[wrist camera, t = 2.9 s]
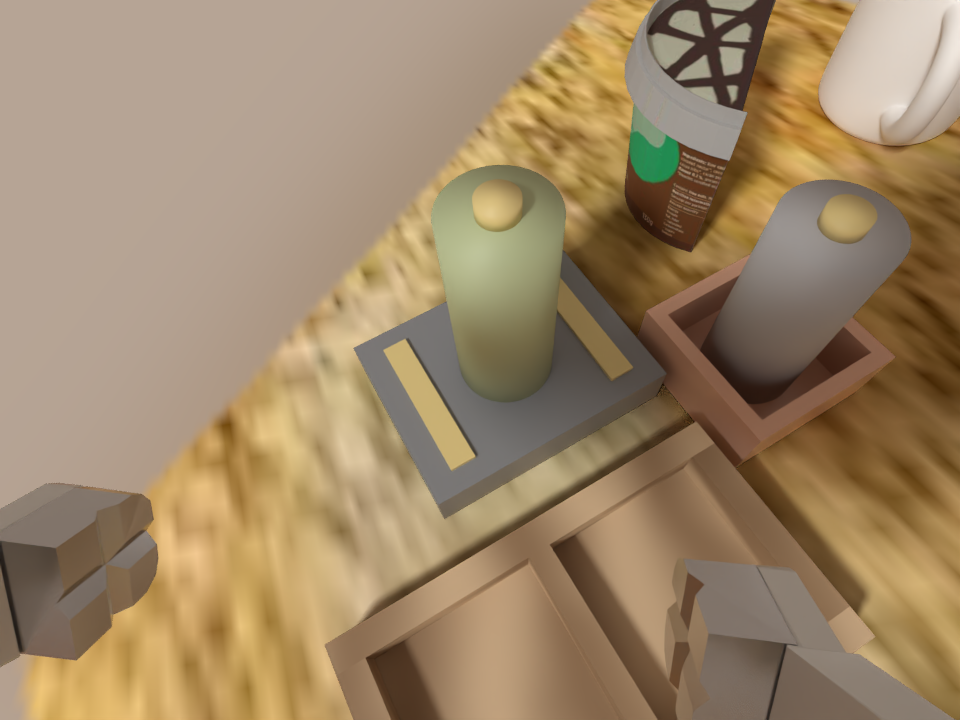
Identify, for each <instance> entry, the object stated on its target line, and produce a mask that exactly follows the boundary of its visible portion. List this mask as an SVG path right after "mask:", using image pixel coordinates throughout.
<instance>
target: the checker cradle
mask: <svg viewBox="0 0 960 720" xmlns="http://www.w3.org/2000/svg"><path fill="white" fill-rule="evenodd" d="M354 350H355V352H356V354H357V356H358V358H359V360H360V362H361V364H362V366H363V368H364V370H365V372H366V374H367V376H368V378H369V379H370V381H371V383H372V385H373V387H374V389H375V391H376V392H377V394H378V396H379V398H380V400H381V402H382V404H383V405H384V407H385V409H386V411H387V413H388V415H389V417H390V418H391V420H392V422H393V424H394V426H395V428H396V430H397V432H398V433H399V435H400V437H401V439H402V441H403V443H404V445H405V446H406V448H407V450H408V452H409V454H410V456H411V458H412V459H413V461H414V463H415V465H416V467H417V469H418V471H419V472H420V474H421V476H422V478H423V480H424V482H425V484H426V485H427V487H428V489H429V491H430V493H431V495H432V497H433V499H434V500H435V502H436V504H437V506H438V508H439V510H440V512H441V513H442V515H443V517H444V519H445V518H447V517H449V516H451V515H452V514H454V513H456V512H457V511H459V510H461V509H463V508H464V507H466V506H468V505H470V504H471V503H473V502H475V501H476V500H478V499H480V498H482V497H483V496H485V495H487V494H488V493H490V492H492V491H494V490H495V489H497V488H499V487H501V486H502V485H504V484H506V483H507V482H509V481H511V480H513V479H514V478H516V477H518V476H519V475H521V474H523V473H525V472H526V471H528V470H530V469H532V468H533V467H535V466H537V465H538V464H540V463H542V462H544V461H545V460H547V459H549V458H550V457H552V456H554V455H556V454H557V453H559V452H561V451H562V450H564V449H566V448H568V447H569V446H571V445H573V444H575V443H576V442H578V441H580V440H581V439H583V438H585V437H587V436H588V435H590V434H592V433H593V432H595V431H597V430H599V429H600V428H602V427H604V426H606V425H607V424H609V423H611V422H612V421H614V420H616V419H618V418H619V417H621V416H623V415H624V414H626V413H628V412H630V411H631V410H633V409H635V408H636V407H638V406H640V405H642V404H643V403H645V402H647V401H649V400H650V399H652V398H654V397H655V396H657V394H658V392H659V389H660V387H661V385H662V383H663V381H664V379H665V377H666V375H667V373H666V372H665V371H664V369H663V368H662V367H661V366H660V365H659V363H658V362H657V361H656V360H655V359H654V358H653V356H652V355H651V354H650V353H649V352H648V350H647V349H646V348H645V347H644V346H643V344H642V343H641V342H640V341H639V340H638V339H637V337H636V336H635V335H634V334H633V333H632V331H631V330H630V329H629V328H628V327H627V325H626V324H625V323H624V322H623V321H622V320H621V318H620V317H619V316H618V315H617V314H616V312H615V311H614V310H613V309H612V308H611V306H610V305H609V304H608V303H607V302H606V300H605V299H604V298H603V297H602V296H601V295H600V293H599V292H598V291H597V290H596V289H595V287H594V286H593V285H592V284H591V283H590V281H589V280H588V279H587V278H586V277H585V276H584V274H583V273H582V272H581V271H580V270H579V268H578V267H577V266H576V265H575V264H574V262H573V261H572V260H571V259H570V258H569V257H568V255H567V254H566V253H565V252H564V251H562V262H561V272H560V283H559V293H558V304H557V314H556V325H555V335H554V346H553V357H552V366H551V371H550V374H549V377H548V379H547V380H546V382H545V383H544V385H543V386H542V387H541V388H540V389H539V390H538V391H537V392H536V393H534V394H533V395H531V396H529V397H527V398H525V399H522V400H519V401H515V402H495V401H491V400H488V399H485V398H483V397H481V396H479V395H478V394H476V393H475V392H474V391H472V390H471V389H470V388H469V387H468V385H467V384H466V382H465V381H464V379H463V377H462V374H461V371H460V366H459V361H458V356H457V351H456V345H455V340H454V335H453V330H452V325H451V320H450V315H449V310H448V305H447V302H445V303H443V304H441V305H439V306H437V307H435V308H433V309H431V310H429V311H427V312H425V313H423V314H421V315H419V316H417V317H415V318H413V319H411V320H409V321H407V322H405V323H403V324H401V325H399V326H397V327H395V328H393V329H391V330H389V331H387V332H385V333H383V334H381V335H379V336H377V337H375V338H373V339H371V340H369V341H367V342H365V343H363V344H361V345H359V346H357V347H355V348H354Z"/></svg>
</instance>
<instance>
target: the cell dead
mask: <svg viewBox="0 0 960 720" xmlns="http://www.w3.org/2000/svg"><path fill="white" fill-rule="evenodd" d="M910 246H911V232H910V228H909V226H908V223H907V221H906V219H905V218H904V216H903V215H902V213H901V212H900V211H899V210H898V209H897V208H896V207H895V205H893V204H892V203H891V202H890V201H889V200H887V199H886V198H885V197H883V196H882V195H880V194H878V193H877V192H875V191H873V190H871V189H868V188H866V187H864V186H861V185H858V184H854V183H851V182H846V181H840V180H816V181H810V182H806V183H803V184H800V185H798V186H796V187H794V188H792V189H791V190H789V191H788V192H787V193H786V194H784V196H783V197H782V198H781V199H780V201H779V203H778V204H777V206H776V208H775V210H774V212H773V214H772V216H771V217H770V219H769V221H768V223H767V225H766V227H765V229H764V230H763V232H762V234H761V236H760V238H759V240H758V242H757V244H756V245H755V247H754V249H753V251H752V253H751V255H750V257H749V259H748V260H747V262H746V264H745V266H744V268H743V270H742V272H741V273H740V275H739V277H738V279H737V281H736V283H735V285H734V287H733V288H732V290H731V292H730V294H729V296H728V298H727V300H726V301H725V303H724V305H723V307H722V309H721V311H720V313H719V315H718V316H717V318H716V320H715V322H714V324H713V326H712V328H711V329H710V331H709V333H708V335H707V337H706V339H705V341H704V343H703V344H702V347H701V349H700V351H701V352H702V354H703V355H704V356H705V357H706V358H707V359H708V360H709V361H710V362H711V364H712V365H713V366H714V367H715V368H716V369H717V370H718V371H719V373H720V374H721V375H722V376H723V377H724V378H725V379H726V380H727V381H728V383H729V384H730V385H731V386H732V387H733V388H734V389H735V390H736V392H737V393H738V394H739V395H740V396H741V397H742V398H743V399H744V400H745V402H746V403H747V404H761V403H766V402H769V401H772V400H774V399H776V398H778V397H779V396H780V395H782V394H783V393H784V392H785V391H786V390H787V388H788V387H789V386H790V385H791V384H792V383H793V382H794V381H795V380H796V379H797V377H798V376H799V375H800V374H801V373H802V372H803V371H804V370H805V369H806V367H807V366H808V365H809V364H810V363H811V362H812V361H813V360H814V359H815V358H816V356H817V355H818V354H819V353H820V352H821V351H822V350H823V349H824V348H825V346H826V345H827V344H828V343H829V342H830V341H831V340H832V339H833V338H834V337H835V335H836V334H837V333H838V332H839V331H840V330H841V329H842V328H843V327H844V325H845V324H846V323H847V322H848V321H849V320H850V319H851V318H852V317H853V316H854V314H855V313H856V312H857V311H858V310H859V309H860V308H861V307H862V306H863V304H864V303H865V302H866V301H867V300H868V299H869V298H870V297H871V296H872V295H873V293H874V292H875V291H876V290H877V289H878V288H879V287H880V286H881V285H882V283H883V282H884V281H885V280H886V279H887V278H888V277H889V276H890V275H891V274H892V272H893V271H894V270H895V269H896V268H897V267H898V266H899V265H900V264H901V262H902V261H903V260H904V259H905V257H906V256H907V255H908V252H909V250H910Z"/></svg>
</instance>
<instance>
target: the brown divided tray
mask: <svg viewBox="0 0 960 720" xmlns="http://www.w3.org/2000/svg"><path fill="white" fill-rule="evenodd" d="M678 558H685V559H695V560H706V561H717V562H727V563H738V564H749V565H752V564H753V565H765V566H777V567H789V568H791V569H792V570H794V571H795V572H796V573H797V575H798V576H799V578H800V579H801V581H802V583H803V584H804V586H805V587H806V589H807V590H808V592H809V594H810V595H811V597H812V598H813V600H814V602H815V603H816V605H817V606H818V608H819V610H820V611H821V613H822V614H823V616H824V617H825V619H826V621H827V622H828V624H829V625H830V627H831V629H832V630H833V632H834V633H835V635H836V636H837V638H838V640H839V641H840V643H841V644H842V646H843V648H844V649H845V651H846V652H847V653H852V654H853V653H854V652H855V651H857V650H858V649H860V648H861V647H862V646H864V645H865V644H866V643H868V642H869V641H870V640H872V639H873V638H874V637H875V636H874V634H873V633H872V632H871V631H870V630H869V628H868V627H867V626H866V625H865V624H864V622H863V621H862V620H861V619H860V618H859V616H858V615H857V614H856V613H855V612H854V610H853V609H852V608H851V607H850V606H849V604H848V603H847V602H846V601H845V600H844V598H843V597H842V596H841V595H840V594H839V592H838V591H837V590H836V589H835V588H834V586H833V585H832V584H831V583H830V582H829V580H828V579H827V578H826V577H825V576H824V574H823V573H822V572H821V571H820V569H819V568H818V567H817V566H816V565H815V563H814V562H813V561H812V560H811V559H810V557H809V556H808V555H807V554H806V553H805V551H804V550H803V549H802V548H801V547H800V545H799V544H798V543H797V542H796V541H795V539H794V538H793V537H792V536H791V535H790V533H789V532H788V531H787V530H786V529H785V527H784V526H783V525H782V524H781V523H780V521H779V520H778V519H777V518H776V517H775V515H774V514H773V513H772V512H771V511H770V509H769V508H768V507H767V506H766V505H765V503H764V502H763V501H762V500H761V498H760V497H759V496H758V495H757V494H756V492H755V491H754V490H753V489H752V488H751V486H750V485H749V484H748V483H747V482H746V480H745V479H744V478H743V477H742V476H741V474H740V473H739V472H738V471H737V470H736V468H735V467H734V466H733V465H732V464H731V462H730V461H729V460H728V459H727V458H726V456H725V455H724V454H723V453H722V452H721V450H720V449H719V448H718V447H717V446H716V444H715V443H714V442H713V441H712V440H711V438H710V437H709V436H708V435H707V434H706V432H705V431H704V430H703V429H702V427H701V426H700V425H699V424H698V423H697V421H696V422H694V423H693V424H691V425H689V426H688V427H686V428H684V429H683V430H681V431H679V432H678V433H676V434H674V435H673V436H671V437H669V438H668V439H666V440H664V441H663V442H661V443H659V444H658V445H656V446H654V447H653V448H651V449H649V450H648V451H646V452H644V453H643V454H641V455H639V456H638V457H636V458H634V459H633V460H631V461H629V462H628V463H626V464H625V465H623V466H621V467H620V468H618V469H616V470H615V471H613V472H611V473H610V474H608V475H606V476H605V477H603V478H601V479H600V480H598V481H596V482H595V483H593V484H591V485H590V486H588V487H586V488H585V489H583V490H581V491H580V492H578V493H576V494H575V495H573V496H571V497H570V498H568V499H566V500H565V501H563V502H561V503H560V504H558V505H556V506H555V507H553V508H551V509H550V510H548V511H546V512H545V513H543V514H541V515H540V516H538V517H536V518H535V519H533V520H531V521H530V522H528V523H526V524H525V525H523V526H521V527H520V528H518V529H516V530H515V531H513V532H511V533H510V534H508V535H506V536H505V537H503V538H501V539H500V540H498V541H496V542H495V543H493V544H491V545H490V546H488V547H486V548H485V549H483V550H481V551H480V552H478V553H476V554H475V555H473V556H471V557H470V558H468V559H466V560H465V561H463V562H461V563H460V564H458V565H456V566H455V567H453V568H451V569H450V570H448V571H446V572H445V573H443V574H442V575H440V576H438V577H437V578H435V579H433V580H432V581H430V582H428V583H427V584H425V585H423V586H422V587H420V588H418V589H417V590H415V591H413V592H412V593H410V594H408V595H407V596H405V597H403V598H402V599H400V600H398V601H397V602H395V603H393V604H392V605H390V606H388V607H387V608H385V609H383V610H382V611H380V612H378V613H377V614H375V615H373V616H372V617H370V618H368V619H367V620H365V621H363V622H362V623H360V624H358V625H357V626H355V627H353V628H352V629H350V630H348V631H347V632H345V633H343V634H342V635H340V636H338V637H337V638H335V639H333V640H332V641H330V642H328V643H327V644H325V647H326V650H327V653H328V655H329V658H330V660H331V663H332V665H333V668H334V671H335V673H336V676H337V678H338V681H339V683H340V686H341V689H342V691H343V694H344V696H345V699H346V701H347V704H348V707H349V709H350V712H351V714H352V717H353V719H354V720H678V719H677V714H676V710H675V707H676V701H677V695H678V690H677V688H676V687H675V686H674V685H673V684H672V683H671V682H670V681H669V678H668V673H667V668H666V661H665V652H664V639H665V623H666V616H667V609H668V608H669V607H671V606H672V605H673V604H674V603H675V602H676V601H677V600H676V597H675V593H674V589H673V586H672V578H673V573H674V567H675V565H676V562H677V559H678Z"/></svg>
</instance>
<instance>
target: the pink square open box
mask: <svg viewBox="0 0 960 720" xmlns="http://www.w3.org/2000/svg"><path fill="white" fill-rule="evenodd" d="M750 255H751V254H749V255H748V256H746V257H744V258H742V259H740V260H738V261H737V262H735V263H733V264H731V265H729V266H727V267H726V268H724V269H722V270H720V271H718V272H716V273H714V274H713V275H711V276H709V277H707V278H705V279H703V280H702V281H700V282H698V283H696V284H694V285H692V286H691V287H689V288H687V289H685V290H683V291H681V292H680V293H678V294H676V295H674V296H672V297H670V298H669V299H667V300H665V301H663V302H661V303H659V304H658V305H656V306H654V307H652V308H650V309H648V310H646V313H645V316H644V319H643V322H642V325H641V328H640V331H639V333H638V336H637V339H638V340H639V341H640V342H641V343H642V344H643V346H644V347H645V348H646V349H647V350H648V352H649V353H650V354H651V355H652V356H653V358H654V359H655V360H656V361H657V362H658V363H659V365H660V366H661V367H662V368H663V369H664V371H665V372H666V373H667V375H666V377H665V379H664V381H663V384H664V385H665V386H666V388H667V389H668V390H669V391H670V393H671V394H672V395H673V396H674V397H675V399H676V400H677V401H678V402H679V403H680V405H681V406H682V407H683V408H684V409H685V411H686V412H687V413H688V414H689V415H690V417H691V418H692V419H693V420H694V421H695V422H696V421H697V423H698V424H699V425H700V426H701V427H702V429H703V430H704V431H705V432H706V434H707V435H708V436H709V437H710V438H711V440H712V441H713V442H714V443H715V444H716V446H717V447H718V448H719V449H720V450H721V452H722V453H723V454H724V455H725V456H726V458H727V459H728V460H729V461H730V462H731V464H732V465H733V466H734V467H735V468H736V467H738V466H739V465H741V464H742V463H744V462H746V461H747V460H749V459H750V458H752V457H754V456H755V455H757V454H758V453H760V452H761V451H763V450H765V449H766V448H768V447H769V446H771V445H773V444H774V443H776V442H777V441H779V440H780V439H782V438H784V437H785V436H787V435H788V434H790V433H792V432H793V431H795V430H796V429H798V428H800V427H801V426H803V425H804V424H806V423H807V422H809V421H811V420H812V419H814V418H815V417H817V416H819V415H820V414H822V413H823V412H825V411H826V410H828V409H830V408H831V407H833V406H834V405H836V404H838V403H839V402H841V401H842V400H844V399H846V398H847V397H849V396H850V395H852V394H853V393H855V392H856V391H858V390H859V389H860V388H861V387H862V386H863V385H864V384H866V383H867V382H868V381H869V380H870V379H871V378H873V377H874V376H875V375H876V374H877V373H878V372H879V371H881V370H882V369H883V368H884V367H885V366H886V365H887V364H889V363H890V362H891V361H892V360H893V359H894V358H896V357H895V356H894V355H893V354H892V353H891V352H890V351H889V350H888V349H887V348H886V347H885V346H883V345H882V344H881V343H880V342H879V341H878V340H877V339H876V338H875V337H874V336H873V335H871V334H870V333H869V332H868V331H867V330H866V329H865V328H864V327H863V326H862V325H861V324H859V323H858V322H857V321H856V320H855V319H854V318H853V317H852V318H851V319H850V320H849V321H848V322H847V323H846V324H845V325H844V327H843V328H842V329H841V330H840V331H839V332H838V333H837V334H836V335H835V337H834V338H833V339H832V340H831V341H830V342H829V343H828V344H827V345H826V346H825V348H824V349H823V350H822V351H821V352H820V353H819V354H818V355H817V356H816V358H815V359H814V360H813V361H812V362H811V363H810V364H809V365H808V366H807V367H806V369H805V370H804V371H803V372H802V373H801V374H800V375H799V376H798V377H797V379H796V380H795V381H794V382H793V383H792V384H791V385H790V386H789V387H788V388H787V390H786V391H785V392H784V393H783V394H782V395H780V396H779V397H778V398H776V399H774V400H772V401H769V402H766V403H761V404H747V403H746V402H745V400H744V399H743V398H742V397H741V396H740V395H739V394H738V393H737V392H736V390H735V389H734V388H733V387H732V386H731V385H730V384H729V383H728V381H727V380H726V379H725V378H724V377H723V376H722V375H721V374H720V373H719V371H718V370H717V369H716V368H715V367H714V366H713V365H712V364H711V362H710V361H709V360H708V359H707V358H706V357H705V356H704V355H703V354H702V352H701V351H700V349H701V347H702V344H703V343H704V341H705V339H706V337H707V335H708V333H709V331H710V329H711V328H712V326H713V324H714V322H715V320H716V318H717V316H718V315H719V313H720V311H721V309H722V307H723V305H724V303H725V301H726V300H727V298H728V296H729V294H730V292H731V290H732V288H733V287H734V285H735V283H736V281H737V279H738V277H739V275H740V273H741V272H742V270H743V268H744V266H745V264H746V262H747V260H748V259H749V257H750Z"/></svg>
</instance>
